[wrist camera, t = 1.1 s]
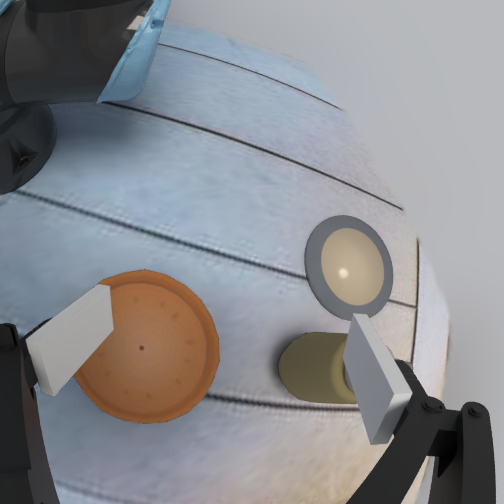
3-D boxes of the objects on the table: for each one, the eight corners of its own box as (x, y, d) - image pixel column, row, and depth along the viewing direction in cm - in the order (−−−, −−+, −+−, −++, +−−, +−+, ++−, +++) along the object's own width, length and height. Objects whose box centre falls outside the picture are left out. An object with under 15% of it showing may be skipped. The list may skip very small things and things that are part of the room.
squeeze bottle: (318, 326, 38) (427, 304, 22) (333, 384, 37) (445, 393, 20) (261, 344, 35) (356, 336, 19) (278, 407, 34) (378, 441, 17)
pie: (240, 355, 34) (254, 356, 30) (139, 442, 28) (139, 456, 23) (153, 250, 35) (154, 236, 30) (49, 332, 28) (34, 329, 24)
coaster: (296, 215, 42) (299, 212, 41) (378, 219, 47) (382, 217, 46) (313, 327, 38) (316, 327, 37) (396, 313, 43) (400, 312, 42)
